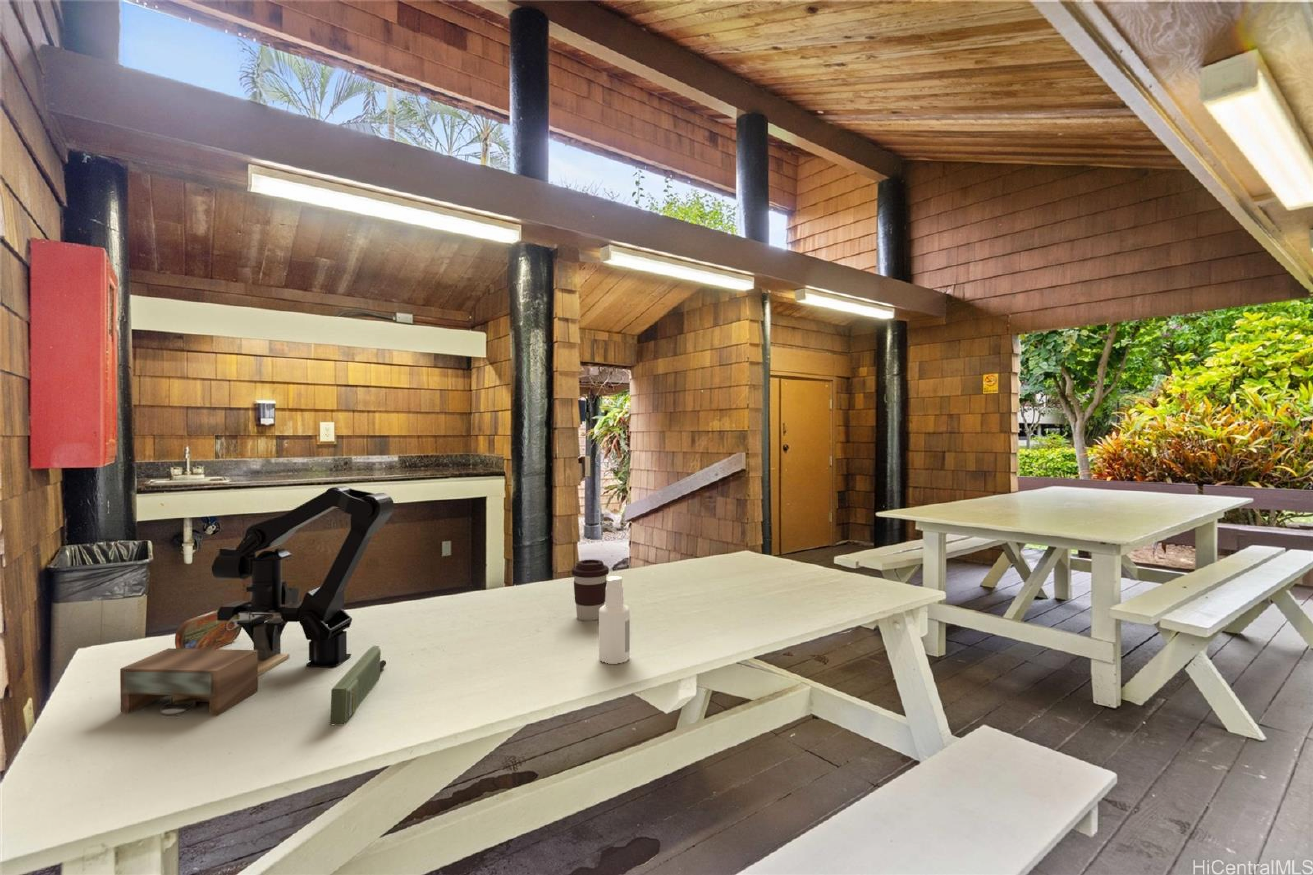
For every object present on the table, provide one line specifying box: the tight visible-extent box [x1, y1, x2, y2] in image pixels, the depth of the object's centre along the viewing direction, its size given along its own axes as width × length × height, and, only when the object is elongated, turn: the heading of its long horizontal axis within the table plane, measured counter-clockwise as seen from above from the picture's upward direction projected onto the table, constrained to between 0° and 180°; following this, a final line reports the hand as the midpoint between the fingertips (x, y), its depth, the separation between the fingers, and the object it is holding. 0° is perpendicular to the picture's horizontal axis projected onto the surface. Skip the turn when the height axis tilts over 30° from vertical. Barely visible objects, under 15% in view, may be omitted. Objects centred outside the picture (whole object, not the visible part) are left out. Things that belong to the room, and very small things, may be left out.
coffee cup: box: [571, 559, 610, 622], centre depth 162 cm, size 10×10×15 cm
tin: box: [174, 609, 243, 649], centre depth 139 cm, size 15×3×8 cm, turn 168°
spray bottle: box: [598, 575, 631, 665], centre depth 133 cm, size 7×7×18 cm
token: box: [160, 698, 197, 717], centre depth 109 cm, size 5×5×1 cm
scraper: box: [171, 619, 290, 703], centre depth 123 cm, size 8×22×8 cm, turn 177°
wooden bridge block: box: [119, 647, 259, 717], centre depth 112 cm, size 18×10×8 cm, turn 87°
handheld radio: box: [329, 645, 387, 725], centre depth 116 cm, size 7×3×25 cm
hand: (267, 650), depth 132 cm, fingers closed on scraper, 2 cm apart
